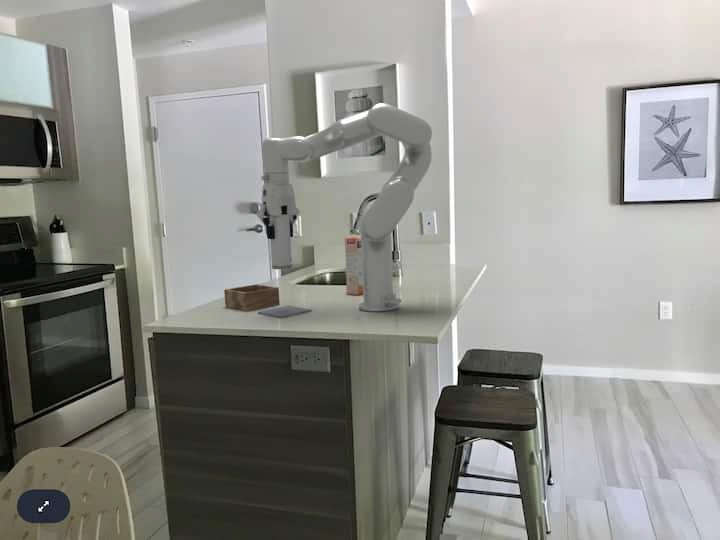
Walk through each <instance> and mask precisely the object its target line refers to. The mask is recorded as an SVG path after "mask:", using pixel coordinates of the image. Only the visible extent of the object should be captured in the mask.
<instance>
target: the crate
mask: <svg viewBox="0 0 720 540" xmlns="http://www.w3.org/2000/svg"><path fill="white" fill-rule="evenodd" d="M224 303H225V308H227V307H229V308H228V309H232V308H233V309H232V310H236V311H238V310H239V311H242V312H246V313H248V312H252V311H253V312H254V311H257V310H262V309H266V308H268V309H269V308H272V307H273V308H274V307H276V306H281V303H280V290H279V287H277V286H270V285H263V284H259V283H258V284H257V283H256V284H250V285H245V286H238V287H233V288H231V287H230V288H225V289H224Z"/></svg>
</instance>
